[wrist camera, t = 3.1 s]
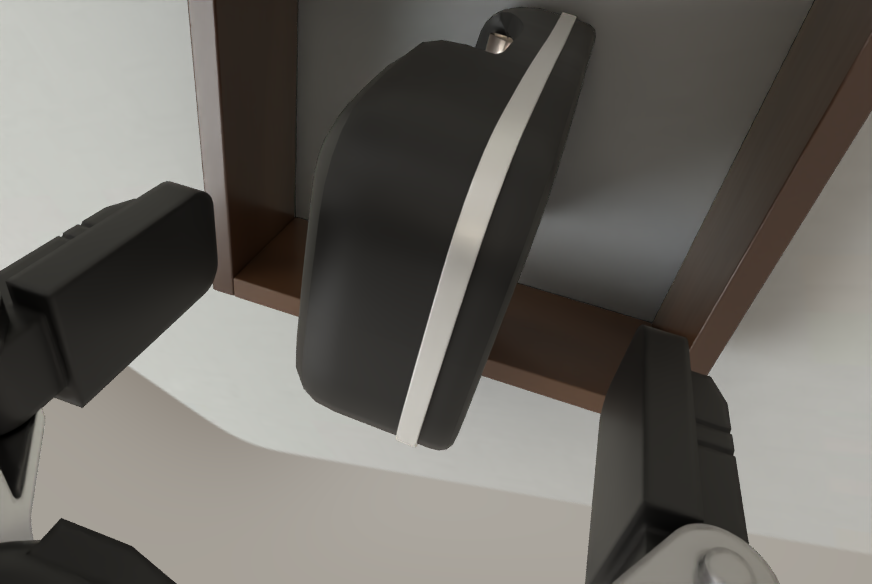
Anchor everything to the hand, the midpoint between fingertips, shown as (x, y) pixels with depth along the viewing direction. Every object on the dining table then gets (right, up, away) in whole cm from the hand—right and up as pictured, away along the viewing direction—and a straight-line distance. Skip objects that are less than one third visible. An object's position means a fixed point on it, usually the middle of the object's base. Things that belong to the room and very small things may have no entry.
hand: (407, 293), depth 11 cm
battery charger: (+3, +6, +8) cm, 10 cm away
